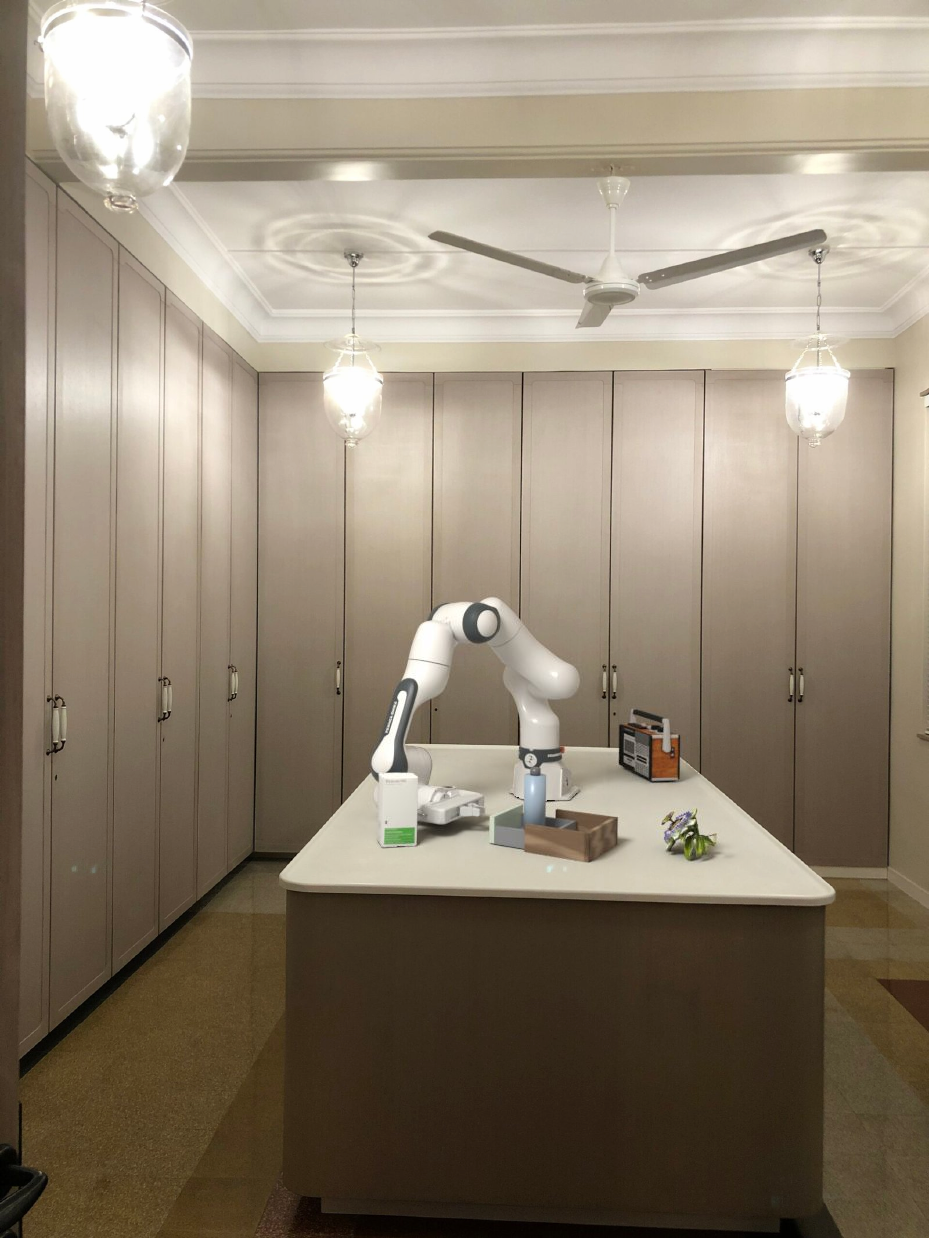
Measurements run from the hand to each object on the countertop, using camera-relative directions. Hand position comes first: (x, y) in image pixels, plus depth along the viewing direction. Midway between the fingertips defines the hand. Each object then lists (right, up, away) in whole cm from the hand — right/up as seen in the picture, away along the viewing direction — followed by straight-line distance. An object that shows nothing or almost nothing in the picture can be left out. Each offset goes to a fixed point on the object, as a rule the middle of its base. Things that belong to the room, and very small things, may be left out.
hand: (482, 811), depth 203 cm
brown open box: (+19, -5, -11) cm, 23 cm away
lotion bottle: (+12, -4, -7) cm, 14 cm away
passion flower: (+45, -6, -15) cm, 47 cm away
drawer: (+12, -5, -7) cm, 15 cm away
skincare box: (-19, -5, -9) cm, 22 cm away
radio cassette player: (+55, -5, +76) cm, 94 cm away
